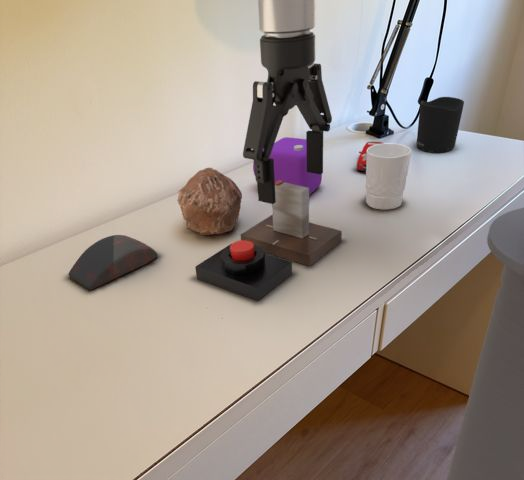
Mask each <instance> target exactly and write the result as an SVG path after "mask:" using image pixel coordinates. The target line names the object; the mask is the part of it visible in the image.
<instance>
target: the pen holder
mask: <svg viewBox="0 0 524 480" xmlns="http://www.w3.org/2000/svg"><path fill="white" fill-rule="evenodd" d="M464 104H465V101H464V100H463V99H461V98H458V97H452V96H440V97H437V98H434V99H432V100H430V101H425V100H420V102H419V113H418V124H417V133H416V134H417V135H416V147H417V148H418V150H420V151H422V152H426V153H435V154H439V153H440V154H441V153H447V152H450V151H453V149H455V146H456V142H457V138H458V133H459V128H460V125H461V119H462V115H463V110H464V106H465V105H464Z"/></svg>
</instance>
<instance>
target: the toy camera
mask: <svg viewBox="0 0 524 480" xmlns="http://www.w3.org/2000/svg"><path fill="white" fill-rule="evenodd" d="M263 151H264V148H263ZM269 158H271V159H274V178H275V182H276V181H278V180H281V181H284V182H285V183H289V184H294V185H298V186H303V187H307V188H309V196H310V195H311V194H312V193H313V192H314V191H316V190H317V189H318V188H319V187H320V185H321V184H322V180H323V179H322V178H323V173H322V174H321V175H320V174H315V173H310V172H307V147H306V138H299V137H288V136H287V137H282V138H280V139H278V140H276V141H275V143H274V146H273V149H272V152H271V154H270V157H269ZM252 170H253V176H255V165H254V161H253V164H252Z"/></svg>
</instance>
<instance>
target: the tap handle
mask: <svg viewBox="0 0 524 480" xmlns="http://www.w3.org/2000/svg"><path fill="white" fill-rule="evenodd" d="M275 197H276V203H274V204H271V206H272V207H271V208H272V209H271V211H272V214H273V230H274V231H277V232H281V233H284V234H288V235H291V236H295V237H298V238H302V239H303V238H304V237H305V236H307V235H308V234H309V222H310V195H309V188H307V187H303V186H298V185H294V184H289V183H285V182H284V181H281V180H278V181H276V182H275Z"/></svg>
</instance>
